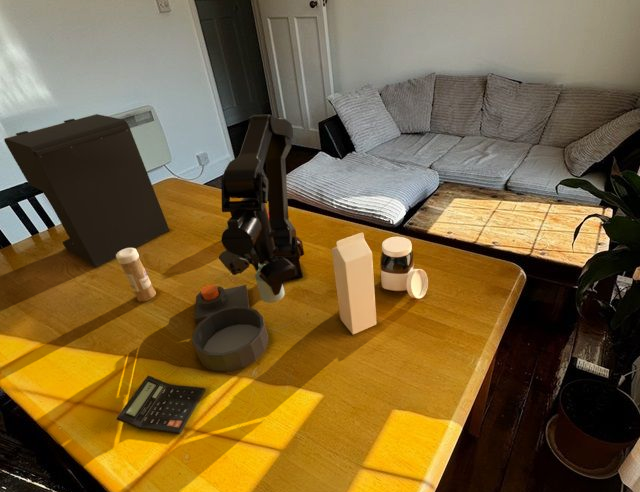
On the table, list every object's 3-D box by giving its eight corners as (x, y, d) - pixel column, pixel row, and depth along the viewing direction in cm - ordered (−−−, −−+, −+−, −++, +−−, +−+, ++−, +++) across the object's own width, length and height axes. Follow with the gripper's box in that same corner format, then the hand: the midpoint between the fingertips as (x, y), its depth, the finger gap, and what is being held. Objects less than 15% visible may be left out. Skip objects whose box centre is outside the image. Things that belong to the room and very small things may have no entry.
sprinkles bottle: (158, 297, 104) (137, 252, 96) (138, 304, 102) (116, 259, 94) (154, 288, 107) (134, 244, 99) (135, 295, 105) (113, 251, 97)
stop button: (218, 289, 99) (216, 283, 98) (218, 298, 96) (216, 291, 95) (203, 292, 98) (201, 286, 97) (203, 302, 95) (200, 295, 94)
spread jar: (385, 271, 106) (383, 232, 99) (429, 274, 104) (431, 234, 97) (377, 301, 97) (375, 260, 90) (426, 305, 94) (427, 263, 88)
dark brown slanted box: (148, 212, 145) (106, 108, 125) (181, 225, 135) (140, 115, 115) (65, 249, 127) (0, 136, 107) (96, 268, 117) (30, 146, 97)
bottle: (283, 285, 96) (276, 254, 91) (286, 299, 92) (279, 267, 87) (259, 290, 95) (251, 259, 90) (261, 305, 91) (253, 273, 86)
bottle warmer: (265, 316, 95) (260, 300, 92) (271, 361, 84) (266, 344, 81) (200, 332, 92) (193, 315, 89) (198, 380, 81) (190, 363, 78)
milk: (376, 324, 90) (372, 238, 77) (352, 335, 88) (343, 248, 75) (362, 309, 95) (356, 225, 82) (339, 319, 92) (329, 234, 80)
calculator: (180, 434, 71) (174, 424, 69) (121, 427, 73) (114, 417, 72) (205, 390, 79) (201, 380, 77) (151, 385, 81) (145, 374, 79)
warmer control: (248, 291, 103) (244, 278, 101) (250, 313, 96) (246, 300, 94) (198, 302, 101) (193, 289, 99) (197, 326, 94) (191, 313, 92)
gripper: (201, 224, 86) (221, 283, 95) (236, 262, 73) (255, 326, 82) (251, 207, 91) (265, 265, 100) (291, 240, 78) (303, 302, 87)
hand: (270, 288), depth 92 cm, fingers closed on bottle, 5 cm apart
